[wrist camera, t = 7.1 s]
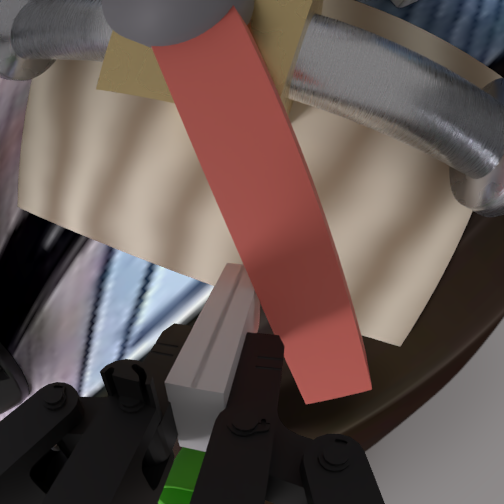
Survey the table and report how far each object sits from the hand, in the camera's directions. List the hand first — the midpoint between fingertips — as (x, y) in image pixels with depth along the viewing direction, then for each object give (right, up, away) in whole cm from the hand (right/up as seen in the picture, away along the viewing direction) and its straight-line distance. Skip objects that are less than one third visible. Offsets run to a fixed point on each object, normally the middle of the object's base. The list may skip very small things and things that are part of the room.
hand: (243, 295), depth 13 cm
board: (-2, +10, +7) cm, 13 cm away
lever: (+1, +5, -1) cm, 5 cm away
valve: (0, +14, +4) cm, 15 cm away
